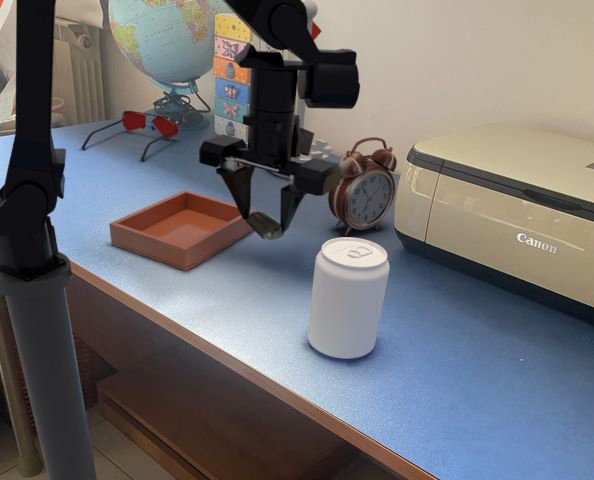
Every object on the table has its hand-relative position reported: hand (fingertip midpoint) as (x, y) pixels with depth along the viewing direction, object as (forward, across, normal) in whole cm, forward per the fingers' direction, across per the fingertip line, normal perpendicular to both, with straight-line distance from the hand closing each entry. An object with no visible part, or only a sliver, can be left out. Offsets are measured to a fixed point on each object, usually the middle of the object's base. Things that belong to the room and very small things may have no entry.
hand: (265, 224), depth 82 cm
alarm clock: (+6, -6, -20) cm, 22 cm away
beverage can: (+6, -18, +12) cm, 23 cm away
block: (+1, 0, 0) cm, 1 cm away
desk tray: (+6, +14, 0) cm, 15 cm away
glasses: (+6, +50, -29) cm, 58 cm away
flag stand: (+6, +16, -39) cm, 43 cm away
